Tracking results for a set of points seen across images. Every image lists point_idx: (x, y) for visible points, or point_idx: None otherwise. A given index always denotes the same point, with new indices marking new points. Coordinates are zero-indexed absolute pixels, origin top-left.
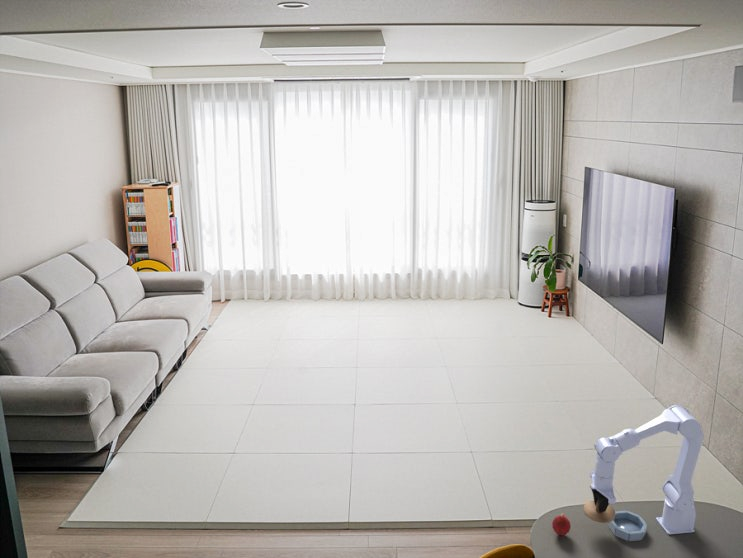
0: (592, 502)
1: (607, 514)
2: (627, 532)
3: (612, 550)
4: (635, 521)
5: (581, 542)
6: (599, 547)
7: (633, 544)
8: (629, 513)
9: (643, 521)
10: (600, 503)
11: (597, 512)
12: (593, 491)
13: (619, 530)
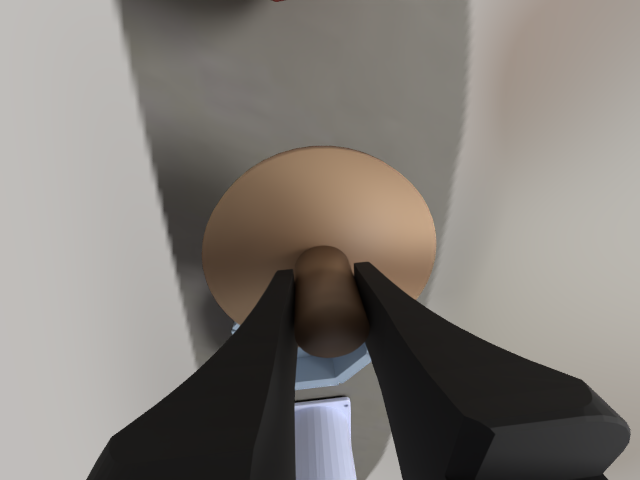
0: (417, 250)
1: None
2: (239, 325)
3: (172, 227)
4: None
5: (210, 84)
6: (183, 174)
7: (223, 311)
8: (359, 359)
9: (308, 385)
10: (220, 352)
11: (300, 250)
12: (429, 378)
13: None
